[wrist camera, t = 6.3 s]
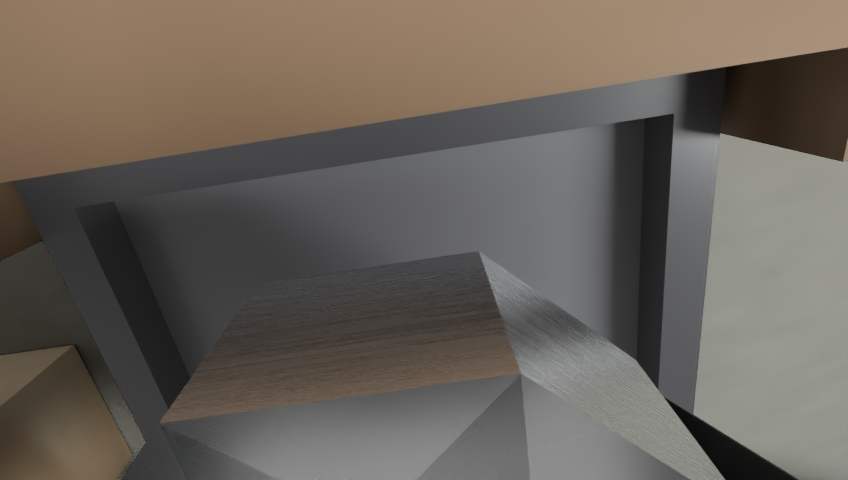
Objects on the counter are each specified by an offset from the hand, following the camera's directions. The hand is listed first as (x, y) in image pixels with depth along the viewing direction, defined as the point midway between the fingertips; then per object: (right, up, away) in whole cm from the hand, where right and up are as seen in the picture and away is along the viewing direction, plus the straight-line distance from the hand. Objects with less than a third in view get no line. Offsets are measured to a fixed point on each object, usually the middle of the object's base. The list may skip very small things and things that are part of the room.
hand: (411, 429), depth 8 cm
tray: (0, +2, +4) cm, 4 cm away
